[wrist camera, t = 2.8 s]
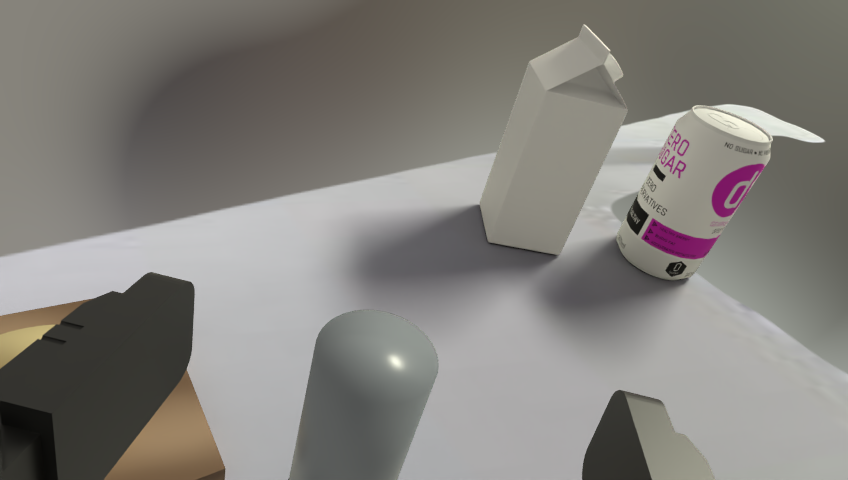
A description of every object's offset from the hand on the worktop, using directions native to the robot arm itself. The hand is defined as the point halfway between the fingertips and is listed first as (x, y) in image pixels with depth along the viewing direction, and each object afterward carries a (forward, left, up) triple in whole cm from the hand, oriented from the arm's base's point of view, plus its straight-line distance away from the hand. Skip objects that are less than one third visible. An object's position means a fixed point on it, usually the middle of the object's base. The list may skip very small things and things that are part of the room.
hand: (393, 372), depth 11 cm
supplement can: (+16, -46, -20) cm, 53 cm away
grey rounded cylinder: (+6, -5, -20) cm, 22 cm away
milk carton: (+24, -34, -20) cm, 46 cm away
